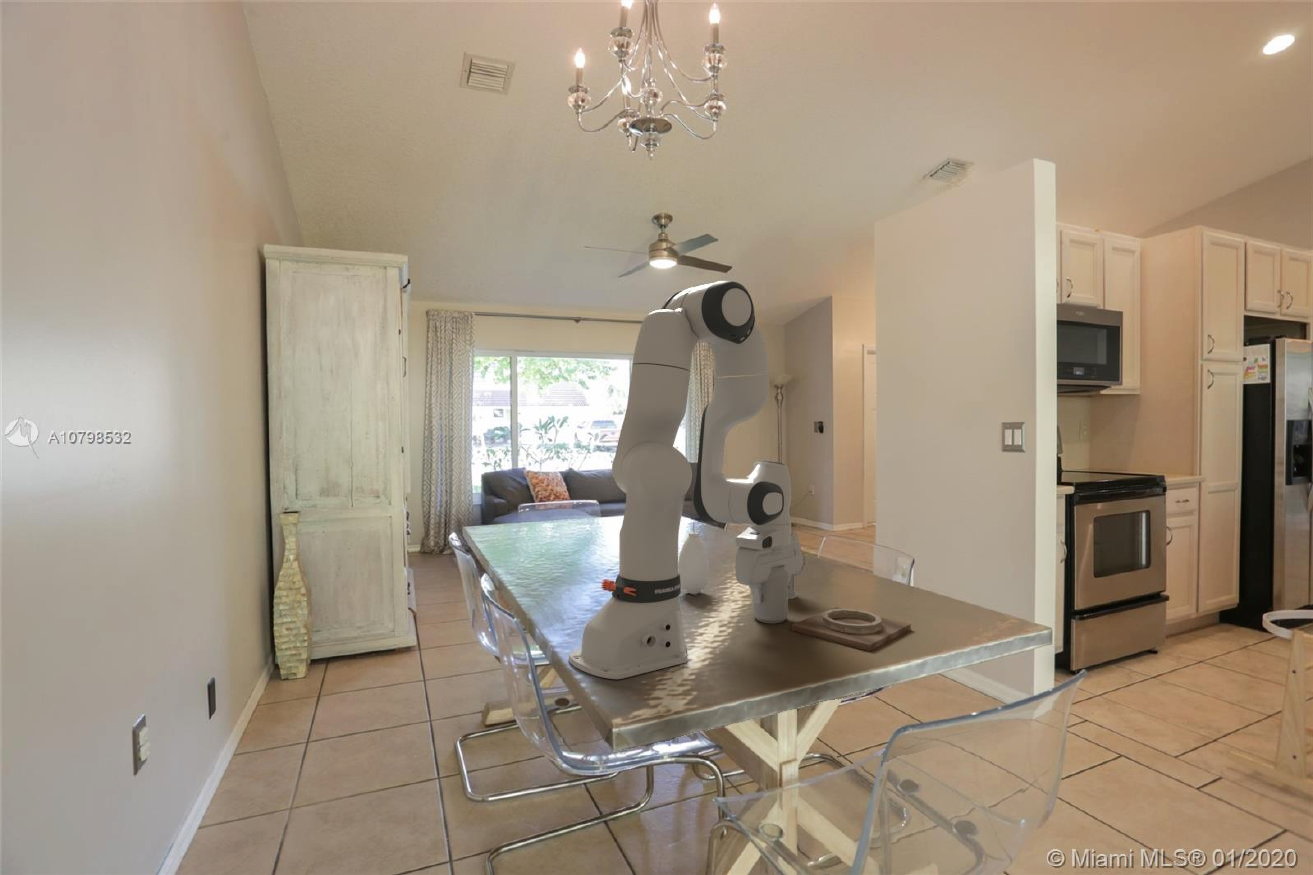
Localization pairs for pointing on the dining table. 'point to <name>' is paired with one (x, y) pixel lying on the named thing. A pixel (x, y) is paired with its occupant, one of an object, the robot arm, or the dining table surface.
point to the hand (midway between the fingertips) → (770, 598)
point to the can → (773, 598)
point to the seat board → (852, 637)
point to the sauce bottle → (693, 564)
